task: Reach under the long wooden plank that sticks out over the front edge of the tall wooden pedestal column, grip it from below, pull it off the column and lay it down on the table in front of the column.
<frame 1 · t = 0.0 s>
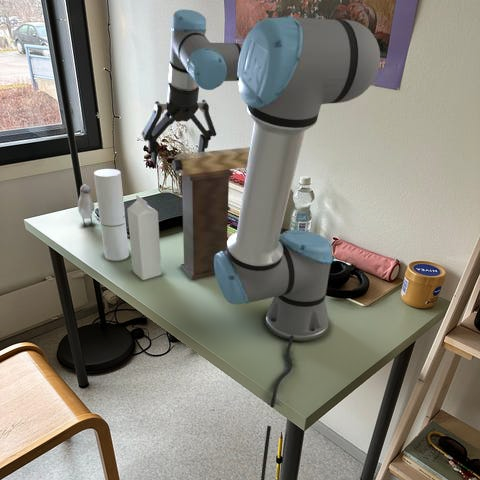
hand: (177, 159, 132), 28 cm above the table, tool tilted 20°, fingers open, 13 cm apart
bird: (88, 226, 160), on the table
cylindrical container: (117, 255, 143), on the table
milk: (147, 273, 134), on the table
wooden pedestal column: (205, 269, 137), on the table
wooden plank: (219, 168, 123), point 29 cm above the table, touching wooden pedestal column
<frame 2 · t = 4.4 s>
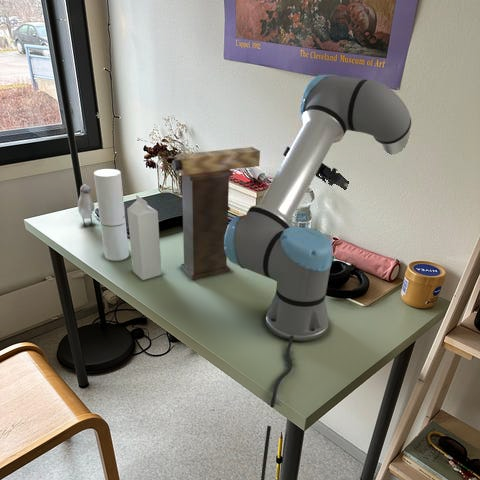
hand: (299, 156, 133), 30 cm above the table, tool pointing upward, fingers open, 13 cm apart
nothing on the table moved.
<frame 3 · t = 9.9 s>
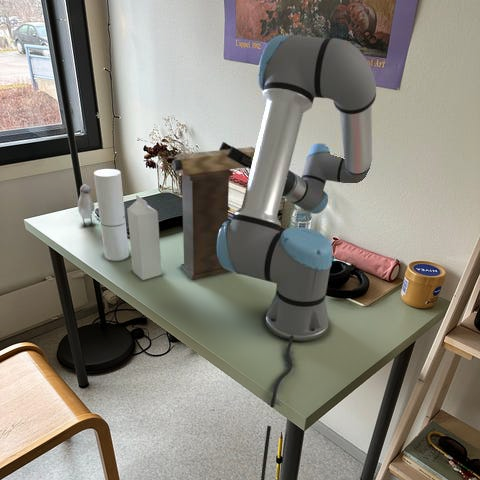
hand: (225, 149, 121), 34 cm above the table, tool pointing upward, fingers closed on wooden plank, 4 cm apart
wooden plank: (219, 168, 123), point 29 cm above the table, touching gripper, wooden pedestal column
everything else where it was.
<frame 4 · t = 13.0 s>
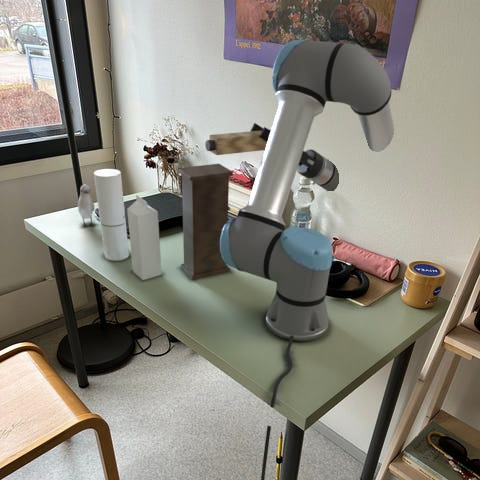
hand: (257, 130, 122), 38 cm above the table, tool pointing upward, fingers closed on wooden plank, 4 cm apart
wooden plank: (250, 149, 124), point 33 cm above the table, touching gripper
everything else where it was.
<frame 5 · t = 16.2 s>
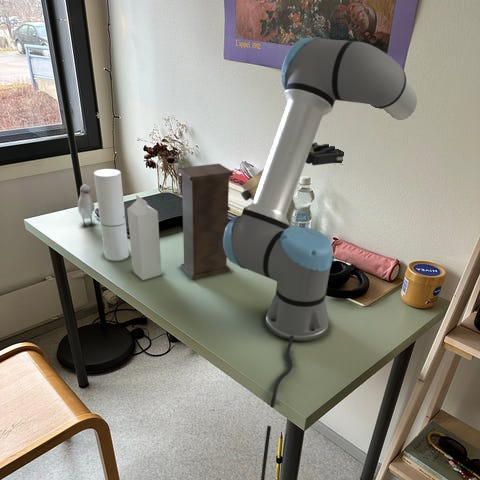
hand: (280, 158, 130), 30 cm above the table, tool horizontal, fingers closed on wooden plank, 4 cm apart
wooden plank: (281, 175, 133), point 25 cm above the table, tilted 30°, touching gripper
everything else where it was.
when the fingers open (11 cm above the table, at t = 21.4 s): wooden plank drops 6 cm, on the table.
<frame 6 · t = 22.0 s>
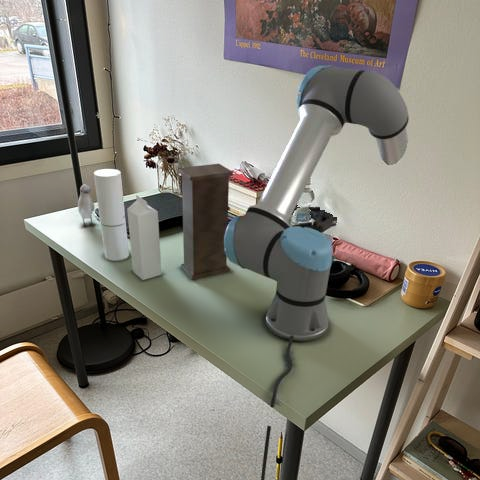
hand: (280, 222, 142), 11 cm above the table, tool horizontal, fingers open, 12 cm apart
wooden plank: (278, 253, 148), on the table
everything else where it was.
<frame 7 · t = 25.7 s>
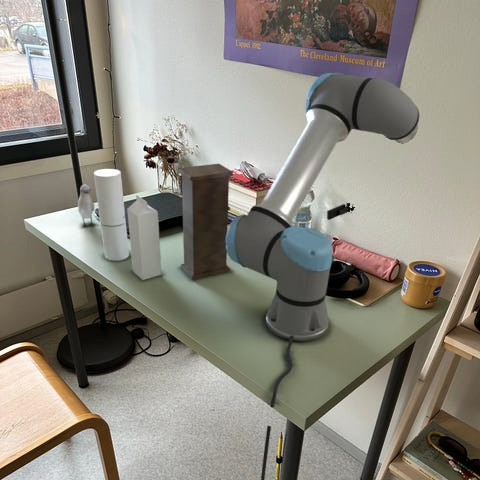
hand: (313, 208, 145), 13 cm above the table, tool horizontal, fingers open, 13 cm apart
nothing on the table moved.
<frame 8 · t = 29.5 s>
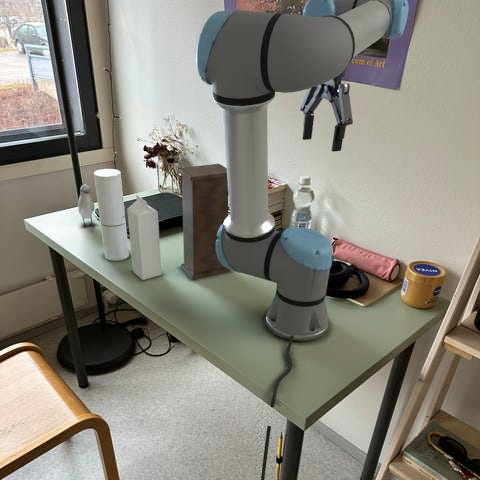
hand: (320, 145, 133), 33 cm above the table, tool pointing down, fingers open, 13 cm apart
nothing on the table moved.
at the end: wooden plank inside the target area (2.8 cm from its centre), on the table; wooden plank touching table; the gripper is holding nothing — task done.
